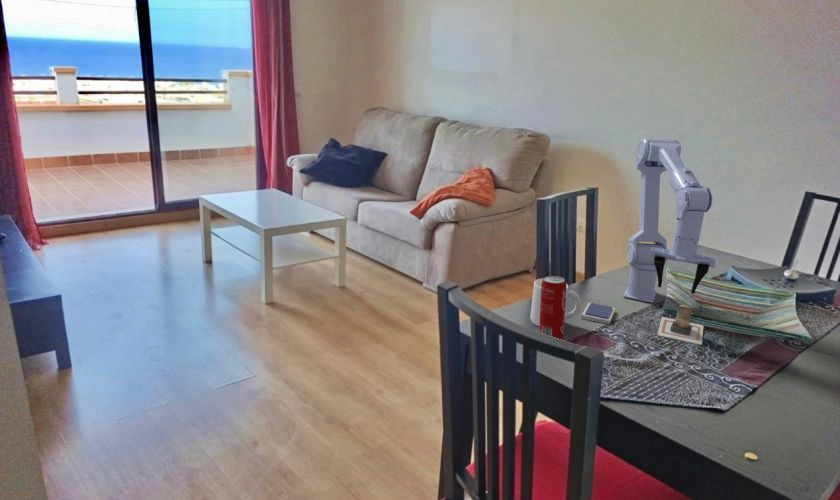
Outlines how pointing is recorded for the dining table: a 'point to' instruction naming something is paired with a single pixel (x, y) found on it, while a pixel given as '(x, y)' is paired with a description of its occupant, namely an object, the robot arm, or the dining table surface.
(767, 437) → the dining table surface
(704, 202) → the robot arm
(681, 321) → the stamp
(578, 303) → the mug
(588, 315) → the ink pad
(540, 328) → the beverage can
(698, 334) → the sheet
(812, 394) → the dining table surface
